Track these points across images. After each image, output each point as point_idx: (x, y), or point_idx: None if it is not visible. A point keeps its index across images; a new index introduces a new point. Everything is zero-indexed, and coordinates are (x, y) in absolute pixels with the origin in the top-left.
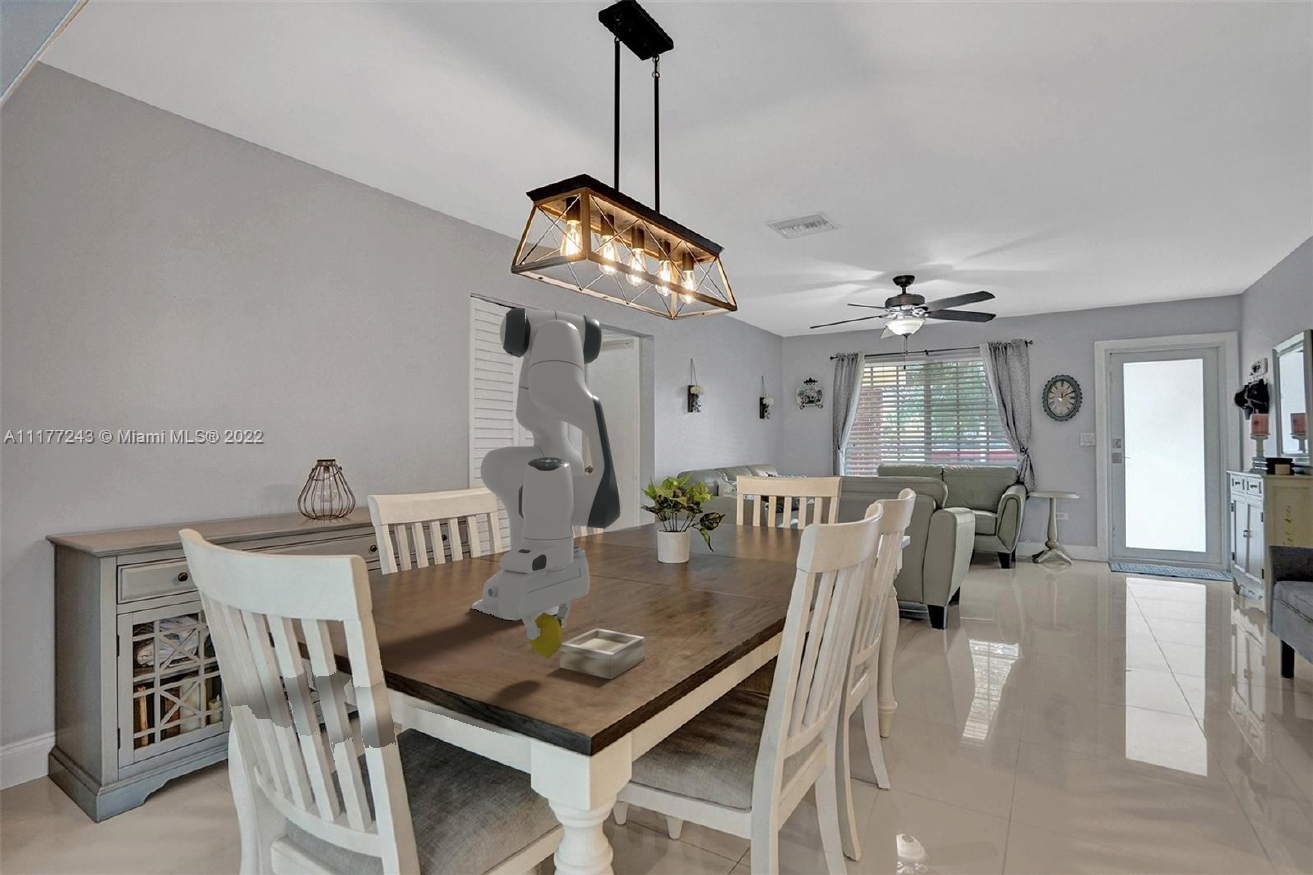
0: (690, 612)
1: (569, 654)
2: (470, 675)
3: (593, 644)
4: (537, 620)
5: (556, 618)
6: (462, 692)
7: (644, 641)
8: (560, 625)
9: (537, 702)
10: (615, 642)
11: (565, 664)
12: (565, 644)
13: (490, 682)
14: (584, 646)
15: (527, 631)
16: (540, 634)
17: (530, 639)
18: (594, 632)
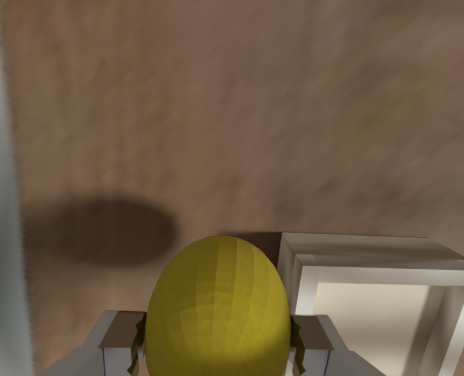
0: None
1: (289, 281)
2: (114, 40)
3: (378, 302)
4: (162, 370)
5: (303, 363)
6: (13, 115)
7: None
8: (288, 356)
9: (87, 306)
10: (412, 338)
11: (283, 251)
12: (303, 282)
13: (109, 136)
14: (354, 290)
15: (90, 335)
16: (141, 357)
17: (162, 273)
18: (451, 283)
